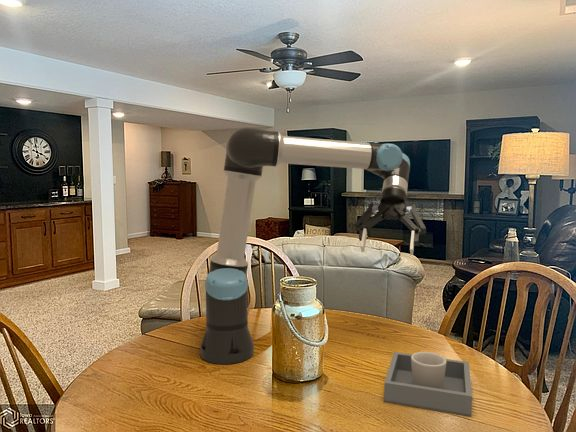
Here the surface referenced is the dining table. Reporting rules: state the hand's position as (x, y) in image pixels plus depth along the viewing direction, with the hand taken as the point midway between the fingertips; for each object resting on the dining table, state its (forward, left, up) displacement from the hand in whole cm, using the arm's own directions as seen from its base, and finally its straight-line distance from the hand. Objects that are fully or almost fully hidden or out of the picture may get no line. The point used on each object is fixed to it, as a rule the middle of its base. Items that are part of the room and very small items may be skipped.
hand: (386, 250), depth 128 cm
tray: (+13, -19, -30) cm, 37 cm away
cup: (+13, -19, -29) cm, 37 cm away
